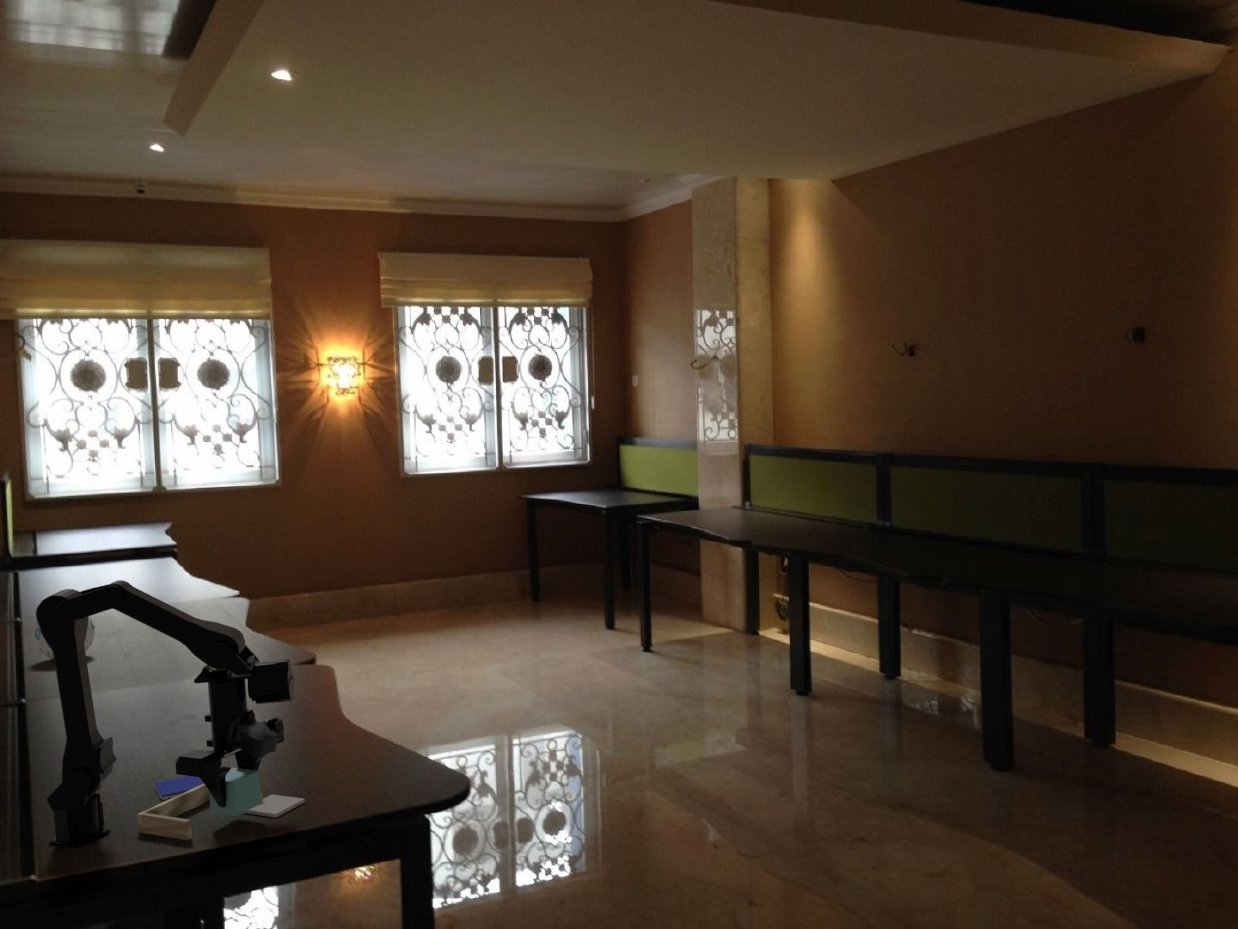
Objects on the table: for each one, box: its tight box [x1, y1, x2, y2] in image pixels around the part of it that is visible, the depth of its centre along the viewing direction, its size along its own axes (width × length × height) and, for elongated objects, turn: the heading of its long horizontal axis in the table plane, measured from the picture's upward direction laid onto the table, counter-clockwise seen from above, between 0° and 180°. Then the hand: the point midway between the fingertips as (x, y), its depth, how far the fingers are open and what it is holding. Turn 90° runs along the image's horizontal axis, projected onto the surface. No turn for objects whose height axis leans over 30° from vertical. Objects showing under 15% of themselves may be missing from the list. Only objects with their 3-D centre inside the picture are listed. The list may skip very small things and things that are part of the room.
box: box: [136, 784, 263, 841], centre depth 181 cm, size 17×11×3 cm, turn 156°
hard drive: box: [153, 775, 204, 801], centre depth 196 cm, size 2×8×12 cm
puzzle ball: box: [33, 616, 96, 659], centre depth 304 cm, size 15×15×15 cm
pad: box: [243, 794, 306, 819], centre depth 183 cm, size 7×7×1 cm
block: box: [209, 767, 261, 817], centre depth 178 cm, size 6×6×6 cm
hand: (235, 800), depth 178 cm, fingers closed on block, 5 cm apart
